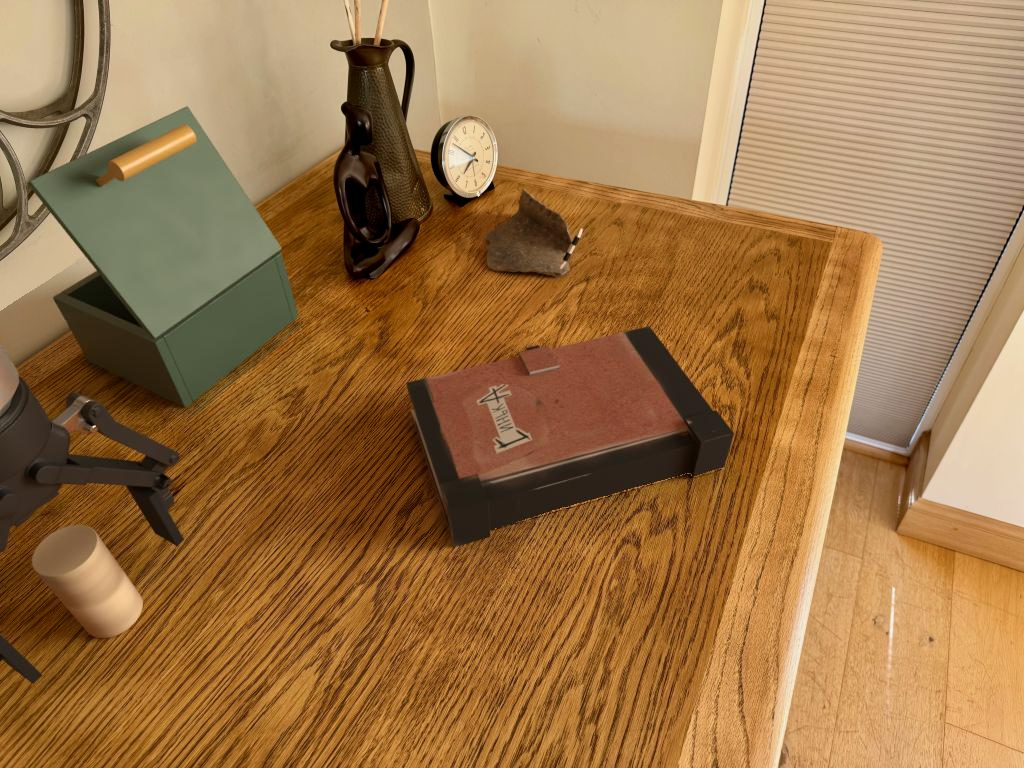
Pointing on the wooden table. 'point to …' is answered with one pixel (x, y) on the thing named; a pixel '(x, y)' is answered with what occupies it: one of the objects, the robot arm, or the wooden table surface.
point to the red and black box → (561, 429)
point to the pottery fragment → (531, 240)
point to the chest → (181, 332)
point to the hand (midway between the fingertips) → (103, 599)
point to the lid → (159, 219)
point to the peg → (88, 580)
